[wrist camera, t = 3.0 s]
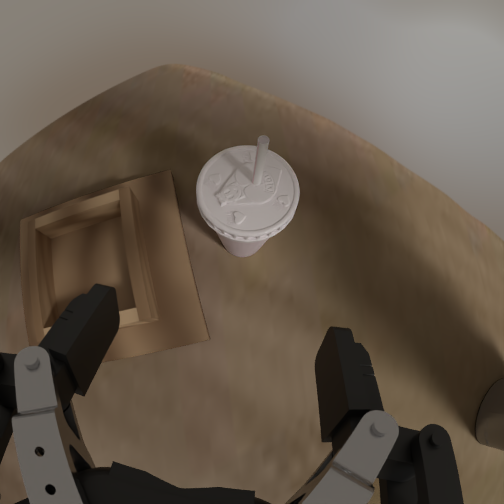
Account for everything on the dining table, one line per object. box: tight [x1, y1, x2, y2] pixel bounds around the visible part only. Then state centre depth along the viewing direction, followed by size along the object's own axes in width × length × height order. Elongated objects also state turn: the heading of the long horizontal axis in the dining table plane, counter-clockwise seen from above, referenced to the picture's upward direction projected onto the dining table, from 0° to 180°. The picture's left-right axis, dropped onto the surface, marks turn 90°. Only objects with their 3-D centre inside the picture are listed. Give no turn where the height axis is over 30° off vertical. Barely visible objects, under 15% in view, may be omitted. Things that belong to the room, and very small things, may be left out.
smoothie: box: [196, 135, 300, 257], centre depth 20 cm, size 6×6×14 cm
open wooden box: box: [20, 170, 210, 362], centre depth 23 cm, size 18×16×4 cm
